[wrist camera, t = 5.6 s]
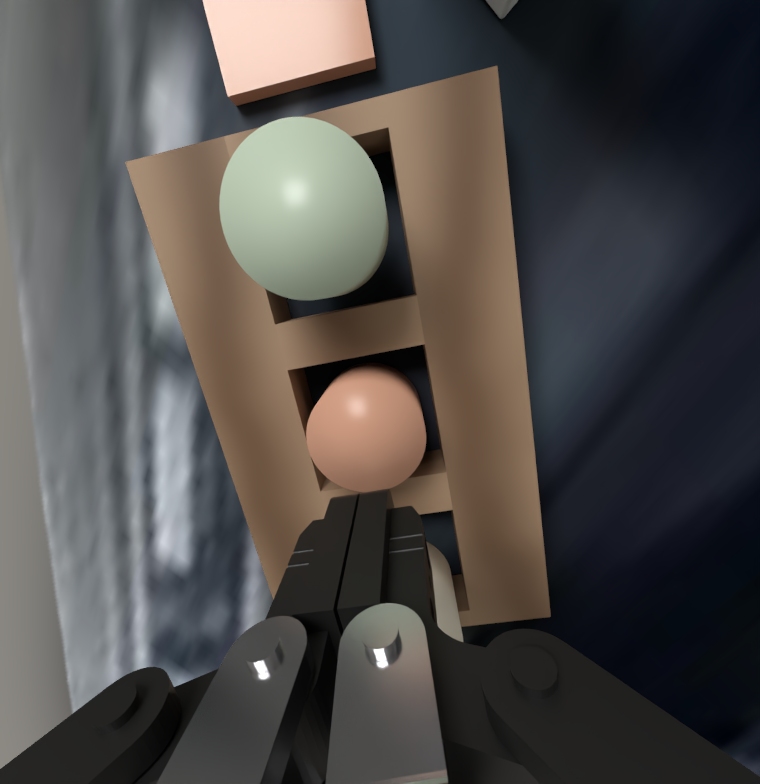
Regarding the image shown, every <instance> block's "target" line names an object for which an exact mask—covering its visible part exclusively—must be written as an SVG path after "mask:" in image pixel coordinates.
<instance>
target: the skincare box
mask: <svg viewBox="0 0 760 784" xmlns="http://www.w3.org/2000/svg"><path fill="white" fill-rule="evenodd" d="M486 2H487V3H488V4H489V5H490V7H491V8H492V9H493V10H494V12H495V13H496V14H497V15H498V17H499V18H500V19H502V18H504V17H505V16H506V15H507V14H508V12H509V11H510V10H511V9H512V8H513V6H514V5H515V4H516V3H517V2H518V0H486Z"/></svg>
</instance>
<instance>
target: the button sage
mask: <svg viewBox="0 0 760 784" xmlns="http://www.w3.org/2000/svg"><path fill="white" fill-rule="evenodd" d="M219 210H220V219H221V224H222V229H223V233H224V236H225V239H226V241H227V244H228V246H229V248H230V250H231V252H232V254H233V256H234V257H235V259H236V261H237V262H238V264H239V265H240V266H241V267H242V269H243V270H244V271H245V272H246V273H247V274H248V275H249V276H250V277H251V278H252V279H253V280H254V281H255V282H257V283H258V284H259V285H261V286H262V287H264V288H265V289H267V290H269V291H271V292H273V293H275V294H277V295H280V296H282V297H286V298H290V299H295V300H318V299H324V298H330V297H336V296H341V295H344V294H348V293H350V292H352V291H354V290H356V289H358V288H359V287H361V286H362V285H363V284H365V283H366V282H367V281H368V280H369V279H370V278H371V277H372V276H373V275H374V273H375V272H376V271H377V269H378V268H379V266H380V264H381V262H382V260H383V257H384V255H385V252H386V248H387V244H388V236H389V225H388V217H387V210H386V204H385V198H384V193H383V189H382V184H381V181H380V179H379V176H378V173H377V171H376V169H375V167H374V165H373V163H372V161H371V160H370V158H369V157H368V155H367V154H366V152H365V151H364V150H363V149H362V147H361V146H360V145H359V144H358V143H357V142H356V141H355V140H354V139H353V138H352V137H350V136H349V135H348V134H347V133H346V132H344V131H342V130H341V129H339V128H338V127H336V126H334V125H332V124H330V123H327V122H325V121H322V120H318V119H315V118H308V117H289V118H283V119H278V120H276V121H273V122H270V123H268V124H266V125H264V126H262V127H260V128H258V129H257V130H256V131H254V132H253V133H251V134H250V135H249V136H248V137H247V138H246V139H245V140H244V141H243V142H242V143H241V144H240V145H239V147H238V148H237V149H236V151H235V152H234V154H233V155H232V157H231V159H230V161H229V163H228V165H227V168H226V170H225V173H224V176H223V180H222V184H221V190H220V203H219Z"/></svg>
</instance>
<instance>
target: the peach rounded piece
mask: <svg viewBox="0 0 760 784" xmlns="http://www.w3.org/2000/svg"><path fill="white" fill-rule="evenodd" d="M306 440H307V446H308V450H309V453H310V456H311V458H312V460H313V462H314V463H315V465H316V466H317V468H318V469H319V470H320V471H321V472H322V474H323V475H325V476H326V477H327V478H328V479H329V480H331V481H332V482H334V483H335V484H337V485H339V486H341V487H343V488H346V489H349V490H353V491H358V492H370V491H376V490H382V489H390V488H393V487H395V486H397V485H399V484H400V483H402V482H403V481H405V480H406V479H407V478H408V477H409V476H411V474H412V473H413V472H414V471H415V470H416V468H417V467H418V465H419V464H420V462H421V460H422V458H423V455H424V452H425V447H426V429H425V424H424V418H423V413H422V408H421V402H420V398H419V395H418V393H417V390H416V388H415V387H414V385H413V384H412V382H411V381H410V380H409V379H408V378H407V377H406V376H405V375H404V374H403V373H402V372H400V371H399V370H397V369H395V368H393V367H391V366H389V365H385V364H382V363H370V362H368V363H361V364H357V365H354V366H351V367H349V368H347V369H345V370H344V371H342V372H341V373H340V374H338V375H337V376H336V377H335V378H334V380H333V381H332V382H331V384H330V385H329V386H328V388H327V389H326V391H325V392H324V394H323V395H322V397H321V398H320V399H319V401H318V402H317V404H316V405H315V407H314V408H313V410H312V412H311V414H310V417H309V420H308V424H307V430H306Z"/></svg>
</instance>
